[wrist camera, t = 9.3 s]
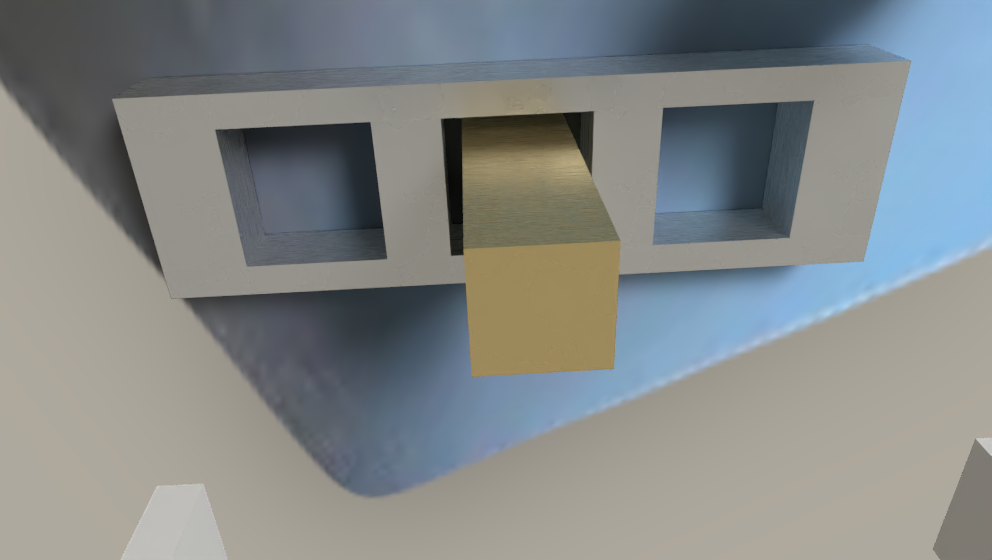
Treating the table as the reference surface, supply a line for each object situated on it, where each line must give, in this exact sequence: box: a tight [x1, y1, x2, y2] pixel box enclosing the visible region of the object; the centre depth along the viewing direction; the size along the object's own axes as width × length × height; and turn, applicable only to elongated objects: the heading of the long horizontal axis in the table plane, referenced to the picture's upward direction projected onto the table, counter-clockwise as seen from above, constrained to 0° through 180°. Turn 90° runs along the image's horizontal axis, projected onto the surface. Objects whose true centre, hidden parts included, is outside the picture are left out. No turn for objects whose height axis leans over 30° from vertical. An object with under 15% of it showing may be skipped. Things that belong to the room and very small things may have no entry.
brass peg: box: [462, 113, 621, 377], centre depth 24 cm, size 4×4×12 cm
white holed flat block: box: [112, 44, 911, 299], centre depth 28 cm, size 8×28×3 cm, turn 92°
